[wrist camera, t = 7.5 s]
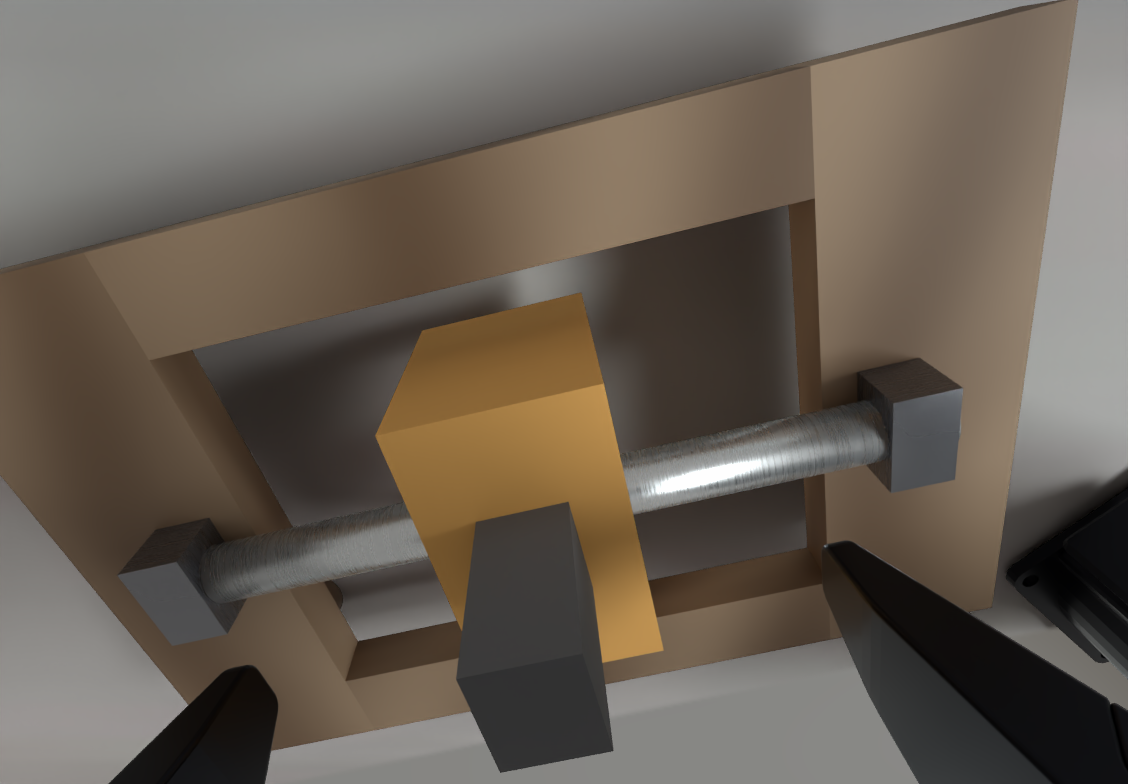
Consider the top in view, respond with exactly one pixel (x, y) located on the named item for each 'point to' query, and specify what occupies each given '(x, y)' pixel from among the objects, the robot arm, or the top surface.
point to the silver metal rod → (654, 481)
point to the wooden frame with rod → (543, 235)
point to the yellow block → (524, 522)
